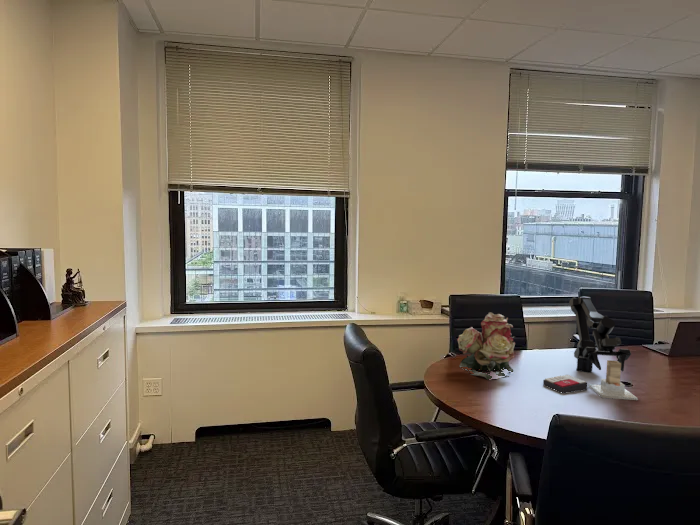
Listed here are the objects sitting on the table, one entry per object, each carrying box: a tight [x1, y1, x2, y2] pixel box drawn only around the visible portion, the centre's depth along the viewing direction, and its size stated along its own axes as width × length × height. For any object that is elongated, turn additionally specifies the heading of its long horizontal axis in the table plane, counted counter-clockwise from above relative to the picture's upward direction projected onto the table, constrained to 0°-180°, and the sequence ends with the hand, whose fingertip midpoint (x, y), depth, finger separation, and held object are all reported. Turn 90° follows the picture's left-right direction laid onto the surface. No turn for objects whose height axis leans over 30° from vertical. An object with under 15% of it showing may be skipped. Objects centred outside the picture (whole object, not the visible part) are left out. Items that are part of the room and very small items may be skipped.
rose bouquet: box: [456, 312, 516, 381], centre depth 216 cm, size 26×29×30 cm
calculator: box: [542, 374, 588, 394], centre depth 197 cm, size 11×4×15 cm
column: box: [605, 359, 622, 384], centre depth 190 cm, size 4×4×13 cm
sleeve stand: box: [588, 378, 639, 401], centre depth 190 cm, size 14×14×6 cm
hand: (611, 370), depth 192 cm, fingers open, 9 cm apart
